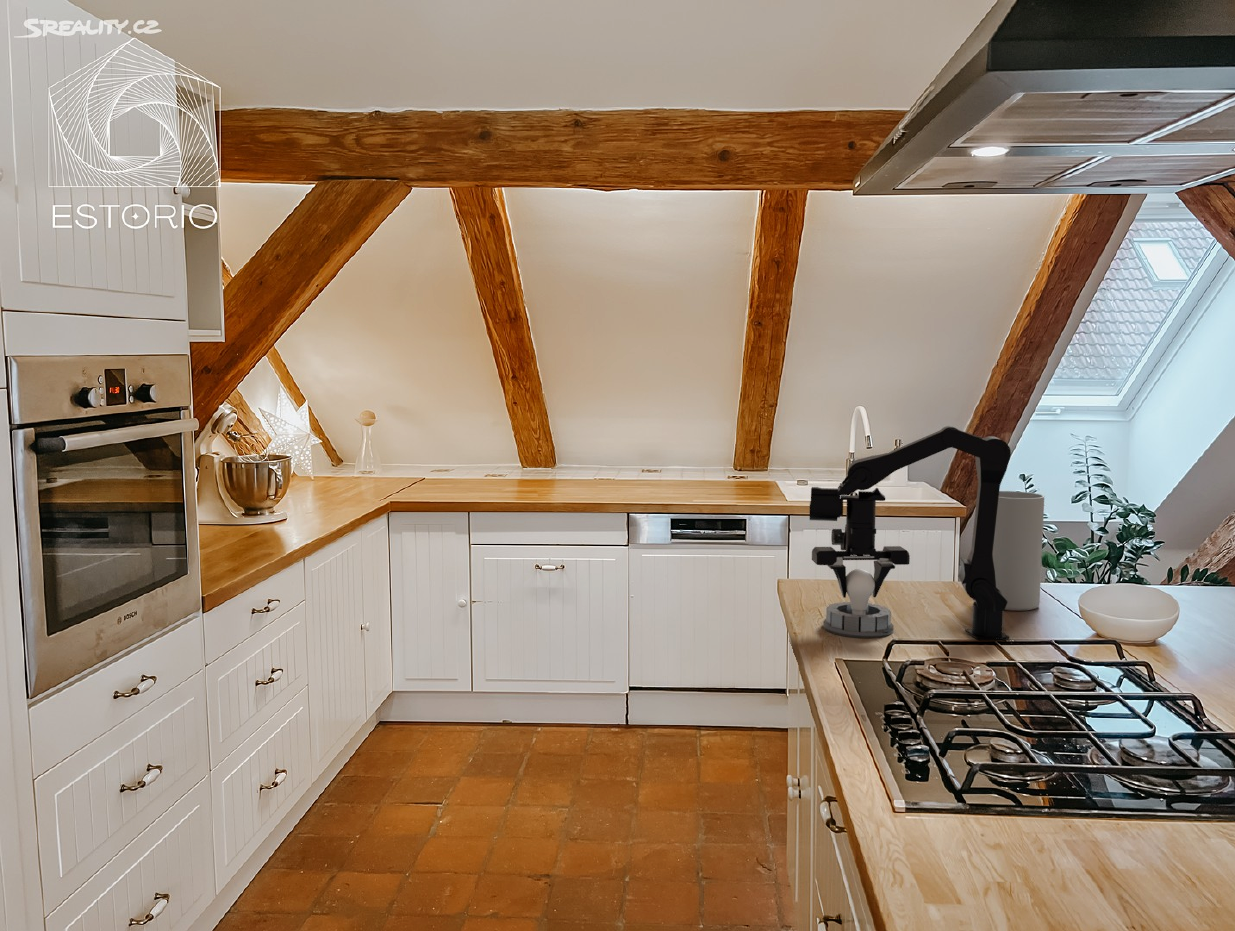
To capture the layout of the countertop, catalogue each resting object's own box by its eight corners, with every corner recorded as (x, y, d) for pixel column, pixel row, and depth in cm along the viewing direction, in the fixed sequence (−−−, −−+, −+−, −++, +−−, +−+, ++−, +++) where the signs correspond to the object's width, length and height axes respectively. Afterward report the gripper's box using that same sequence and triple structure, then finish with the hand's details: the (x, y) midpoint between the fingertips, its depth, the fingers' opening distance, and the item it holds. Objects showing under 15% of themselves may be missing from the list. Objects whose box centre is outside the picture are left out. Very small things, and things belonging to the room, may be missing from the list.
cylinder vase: (1047, 604, 218) (1052, 494, 216) (1026, 614, 209) (1031, 500, 207) (993, 595, 227) (997, 489, 224) (970, 605, 218) (974, 495, 215)
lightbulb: (855, 616, 203) (856, 565, 202) (880, 622, 198) (881, 569, 197) (837, 621, 199) (838, 569, 198) (861, 627, 194) (862, 573, 193)
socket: (903, 637, 192) (904, 617, 192) (834, 638, 191) (834, 619, 191) (880, 619, 206) (880, 600, 206) (815, 620, 205) (815, 601, 205)
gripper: (895, 515, 205) (893, 587, 206) (806, 515, 204) (805, 588, 206) (911, 523, 193) (909, 600, 195) (817, 524, 193) (816, 601, 195)
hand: (859, 597), depth 198 cm, fingers closed on lightbulb, 6 cm apart
